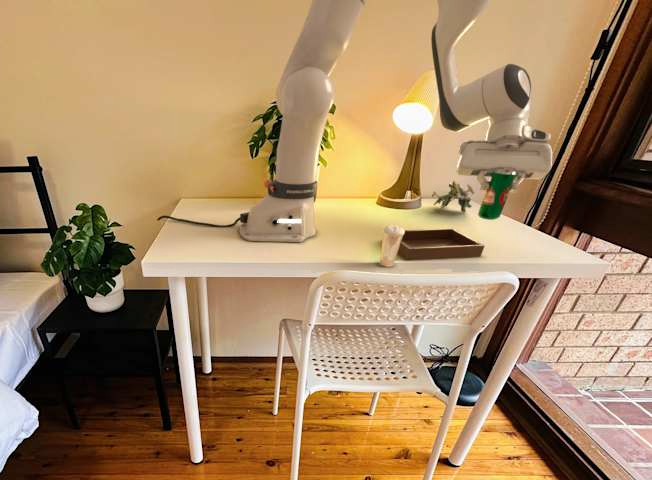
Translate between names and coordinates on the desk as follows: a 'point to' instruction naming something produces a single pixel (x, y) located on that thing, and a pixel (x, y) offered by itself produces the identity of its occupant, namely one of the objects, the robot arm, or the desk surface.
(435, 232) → the tray
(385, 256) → the milkshake
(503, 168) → the soda can
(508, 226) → the desk surface
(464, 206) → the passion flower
